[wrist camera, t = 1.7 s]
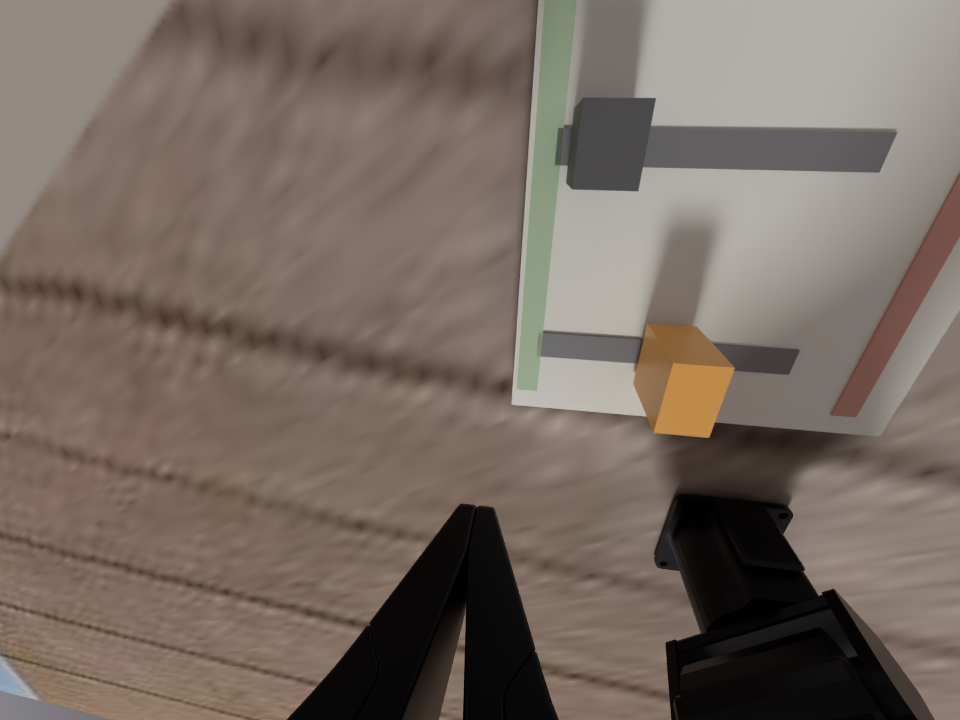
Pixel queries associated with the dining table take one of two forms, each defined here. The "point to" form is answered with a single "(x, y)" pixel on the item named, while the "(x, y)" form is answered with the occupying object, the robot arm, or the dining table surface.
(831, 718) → the robot arm
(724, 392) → the block
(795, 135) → the breaker panel
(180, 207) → the dining table surface
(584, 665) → the dining table surface
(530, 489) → the dining table surface
